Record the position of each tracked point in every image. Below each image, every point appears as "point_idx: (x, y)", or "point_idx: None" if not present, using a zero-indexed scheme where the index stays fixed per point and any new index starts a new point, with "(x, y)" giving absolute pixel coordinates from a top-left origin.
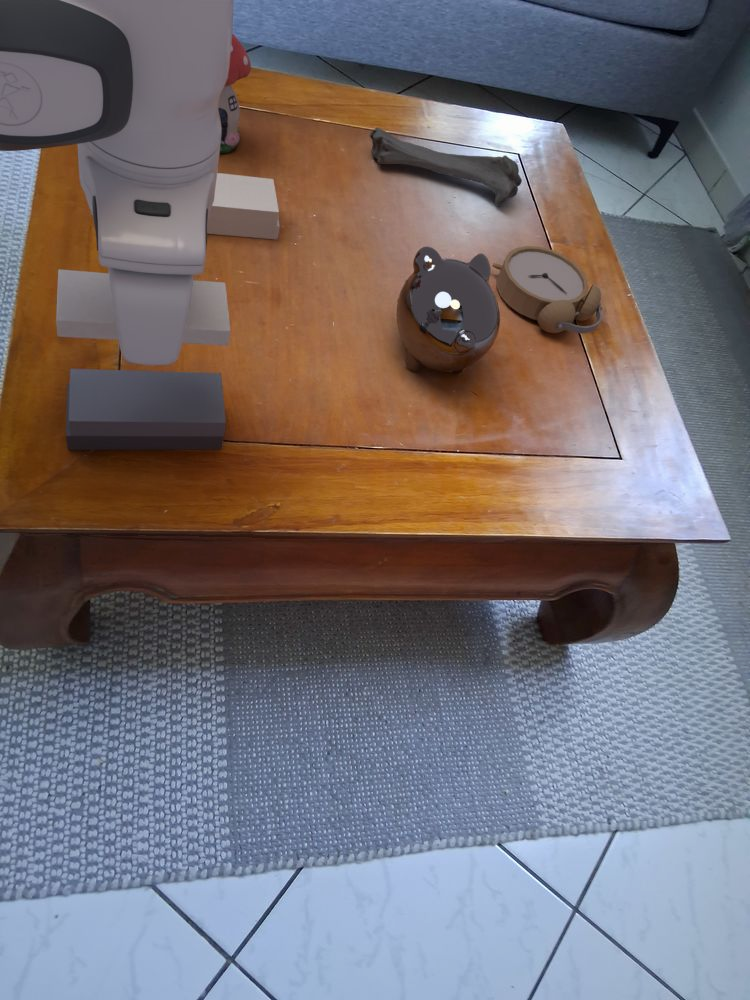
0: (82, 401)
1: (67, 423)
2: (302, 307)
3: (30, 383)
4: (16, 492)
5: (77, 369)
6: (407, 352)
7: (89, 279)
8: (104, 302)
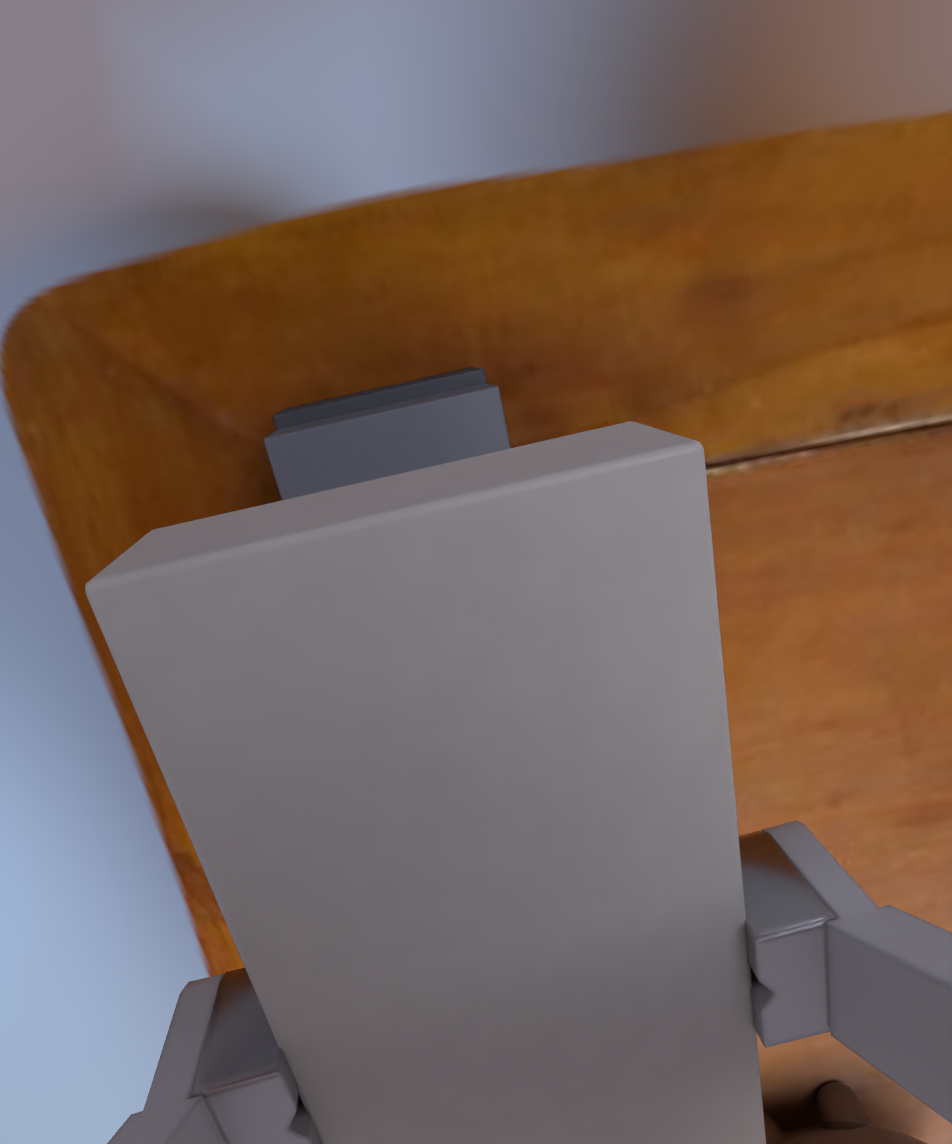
0: (361, 462)
1: (323, 408)
2: (900, 875)
3: (508, 233)
4: (84, 299)
5: (500, 411)
6: (767, 1131)
7: (637, 693)
8: (426, 844)
